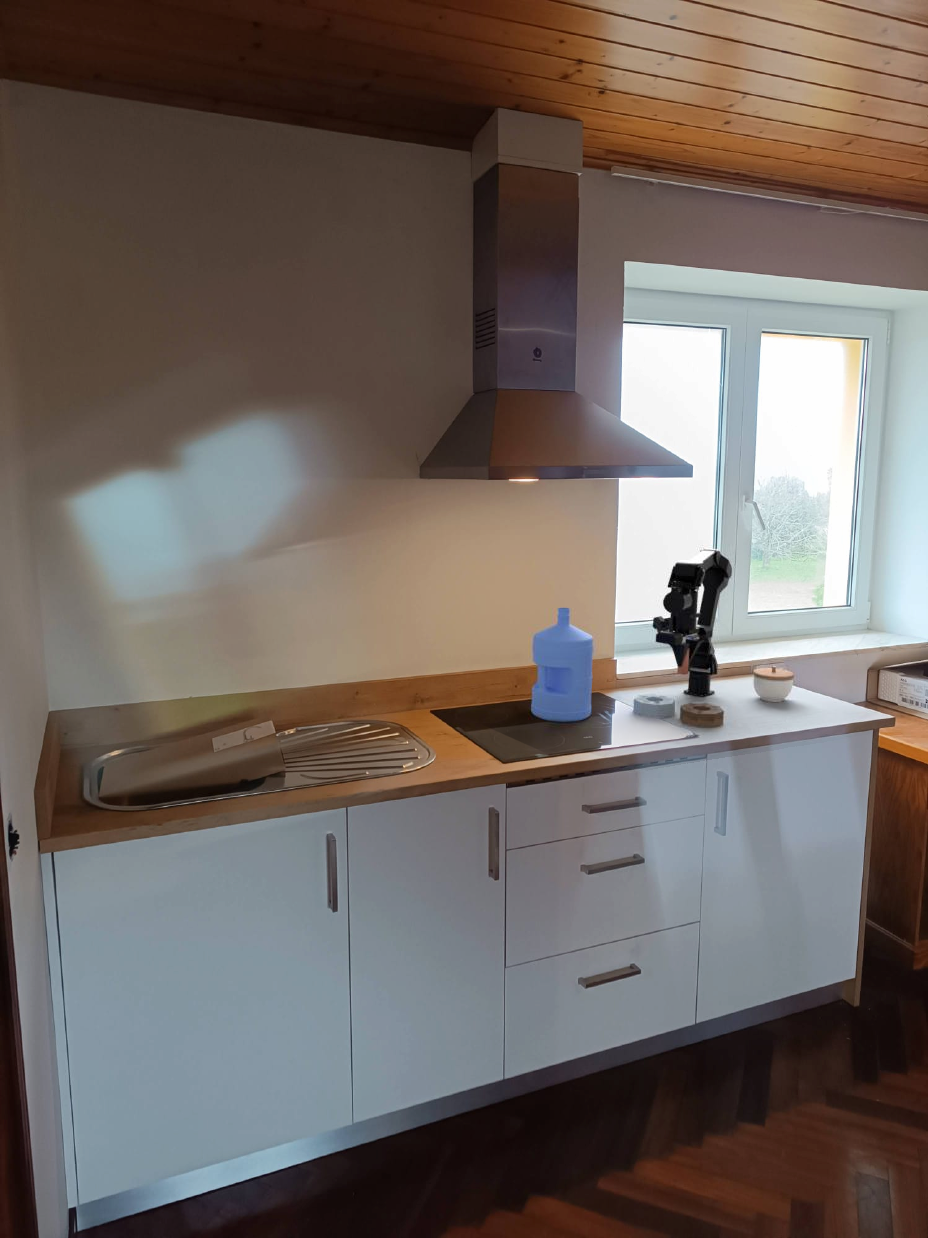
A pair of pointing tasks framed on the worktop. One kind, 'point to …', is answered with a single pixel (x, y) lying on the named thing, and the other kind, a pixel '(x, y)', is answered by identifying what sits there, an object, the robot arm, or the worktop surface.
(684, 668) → the pink rounded cylinder
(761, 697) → the lidded jar
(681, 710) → the walnut bead
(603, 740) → the worktop surface
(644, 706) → the blue bead
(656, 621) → the robot arm
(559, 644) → the water jug
